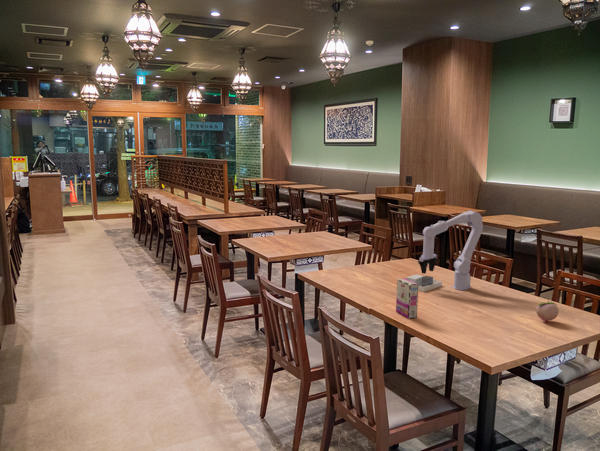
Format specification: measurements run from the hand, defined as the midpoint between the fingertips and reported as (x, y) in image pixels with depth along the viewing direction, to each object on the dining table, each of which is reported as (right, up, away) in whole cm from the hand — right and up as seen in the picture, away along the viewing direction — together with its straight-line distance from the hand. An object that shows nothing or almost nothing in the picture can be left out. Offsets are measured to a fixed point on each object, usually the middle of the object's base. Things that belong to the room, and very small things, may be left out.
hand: (427, 272), depth 270 cm
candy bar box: (-21, -16, -43) cm, 50 cm away
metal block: (0, -9, +1) cm, 9 cm away
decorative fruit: (+41, -18, -52) cm, 68 cm away
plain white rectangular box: (-5, -8, +7) cm, 12 cm away
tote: (-3, -9, +4) cm, 10 cm away
